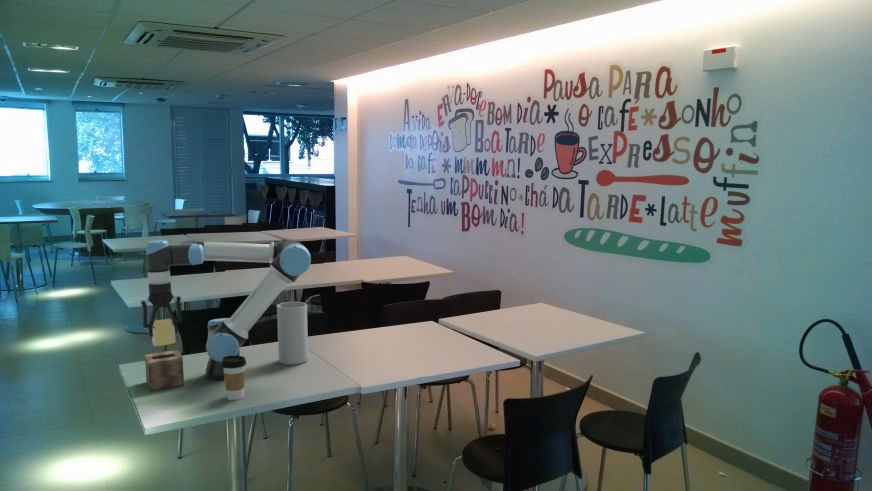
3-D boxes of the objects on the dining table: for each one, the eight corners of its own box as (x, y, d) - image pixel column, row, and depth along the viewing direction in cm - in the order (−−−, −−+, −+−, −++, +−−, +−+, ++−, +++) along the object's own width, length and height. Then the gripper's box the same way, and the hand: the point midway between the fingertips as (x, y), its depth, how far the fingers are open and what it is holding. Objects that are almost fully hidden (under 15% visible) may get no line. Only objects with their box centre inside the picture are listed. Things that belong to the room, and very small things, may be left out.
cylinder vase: (314, 359, 265) (312, 304, 262) (293, 367, 255) (291, 309, 252) (293, 354, 272) (292, 300, 269) (272, 362, 262) (270, 305, 259)
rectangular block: (171, 341, 228) (170, 318, 227) (173, 343, 226) (171, 320, 225) (154, 344, 225) (152, 320, 224) (156, 346, 222) (154, 322, 221)
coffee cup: (226, 393, 225) (225, 354, 223) (249, 392, 226) (248, 354, 224) (220, 401, 217) (218, 361, 215) (244, 401, 217) (243, 361, 216)
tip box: (179, 376, 244) (177, 350, 242) (184, 385, 233) (182, 358, 232) (146, 381, 237) (144, 354, 236) (150, 391, 227) (148, 363, 226)
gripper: (184, 278, 231) (188, 336, 234) (129, 284, 220) (134, 345, 223) (189, 280, 225) (193, 341, 228) (132, 287, 214) (137, 350, 217)
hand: (164, 343), depth 225 cm, fingers closed on rectangular block, 6 cm apart
